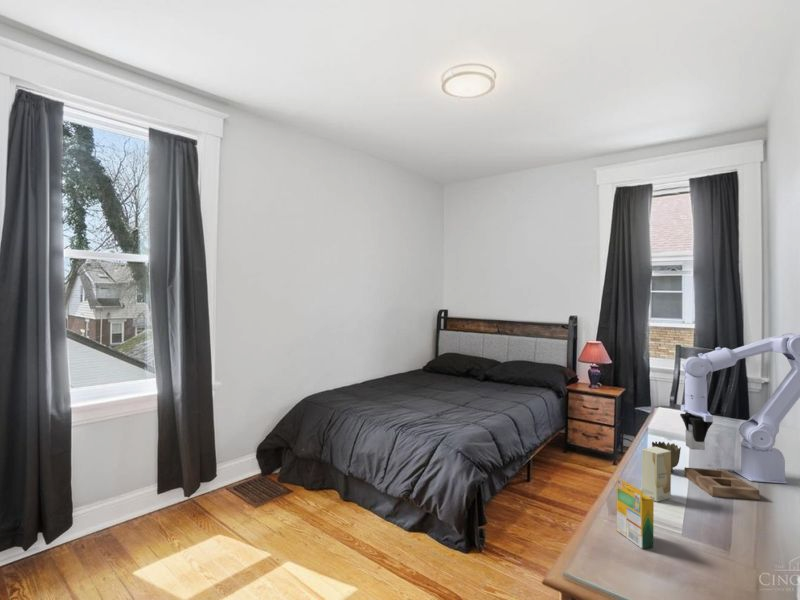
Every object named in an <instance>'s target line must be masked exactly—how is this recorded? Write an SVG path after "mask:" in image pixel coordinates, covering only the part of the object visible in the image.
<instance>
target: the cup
mask: <svg viewBox="0 0 800 600" xmlns="http://www.w3.org/2000/svg"><path fill="white" fill-rule="evenodd" d="M666 443H667V444H666ZM666 443H665V441H662V442H661V441H655V442H654V441H652V442H651V447H659V448H662V449H666V450H669V451H671V473H673V472H674V468H675V467H677V466H678V464H679V463H680V456H681V450H682V449H681V446H680V447H678V444H676V443H670V442H666Z"/></svg>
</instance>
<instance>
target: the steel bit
mask: <svg viewBox="0 0 800 600" xmlns="http://www.w3.org/2000/svg"><path fill="white" fill-rule="evenodd" d="M688 425H689V430H686V429H685V447H687V448H688V449H691V450H695V451H696V450H699V451H705V450H706V449H705V447H706V446H705V445H706V443H705V441H706V439H705V440H704V442H696V441H695V437H694V429H693V426H692V424H688Z"/></svg>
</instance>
